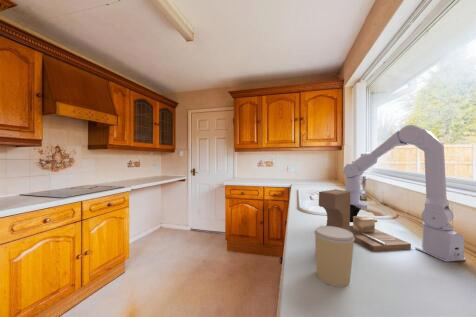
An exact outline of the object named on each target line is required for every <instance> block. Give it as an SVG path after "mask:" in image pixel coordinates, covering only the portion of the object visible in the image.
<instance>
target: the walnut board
mask: <svg viewBox="0 0 476 317" xmlns="http://www.w3.org/2000/svg"><path fill="white" fill-rule="evenodd" d="M350 227H352V228H353V225H350ZM350 232H351V233H352V234H353V236H354V238H355V239H354V242H355V243H357V244H359V245H360V246H362V247H365V248H367V249H368V250H370V251H372V252H386V251H399V250H401V251H402V250H411V249H412V243H410V242H408V241H404V240H403V239H401V238H398V237H396V236H394V235H391V234H389V233H386V232H383V231H381V230H379V229H376V228H375V231H374V232H363V233H365V234H367V235H369V236H371V237H374V238H376V239H378V240H380V241H382V242H384V243H386V245H382V244H380V243H378V242H376V241H374V240H372V239H370V238H368V237H365V236H363V235H361V234H359V233H357V232H355V231H353V230H351V229H350Z"/></svg>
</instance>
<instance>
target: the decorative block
mask: <svg viewBox="0 0 476 317" xmlns="http://www.w3.org/2000/svg"><path fill="white" fill-rule="evenodd" d="M318 206H319V207H320V208H323V209H324V210H325V212H326V219H327V220H326V225H325V226H333V227H339V228H343V229H346V230H348V231H350V226H351V225H350V224H351V222H350V191H345V189H336V188H335V189H329V190H321V191H319V192H318Z"/></svg>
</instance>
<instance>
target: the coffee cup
mask: <svg viewBox="0 0 476 317" xmlns="http://www.w3.org/2000/svg"><path fill="white" fill-rule="evenodd" d="M314 238H315V239H314V240H315V242H314V243H315V260H316V262H315V263H316V275H317V278H318V279H319V280H320V281H322V282H323V283H325V284H327V285H330V286H333V287H338V288H339V287H340V288H341V287H346V286H348V285H350V280H351V273H352V263H353V253H354V242H355V241H354V239H355V238H354V236H353V234H352V233H351V232H350V231H348V230H346V229H343V228H339V227H333V226H326V225H320V226H317V227H316V228H315V230H314Z"/></svg>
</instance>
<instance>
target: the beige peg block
mask: <svg viewBox="0 0 476 317" xmlns="http://www.w3.org/2000/svg"><path fill="white" fill-rule="evenodd" d="M375 223H378V220H377V219H375V218H373V217H370V216H368V215H360V216H359V215H357V216H353V222H352V226H353V228H354V229H356V230H359V231H361V232H374V231H375V229H376V228H375V227H376V226H375V225H376V224H375Z"/></svg>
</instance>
